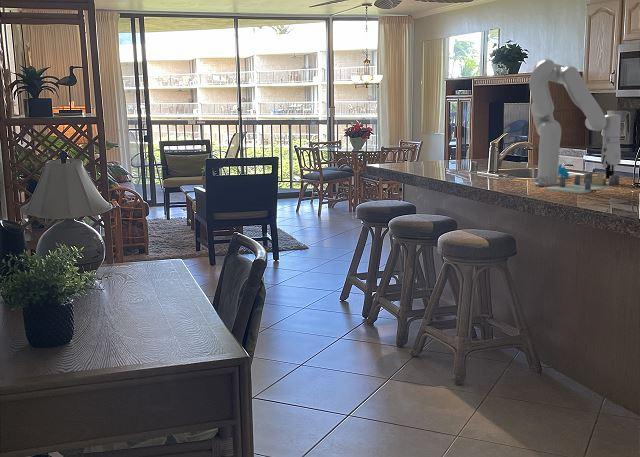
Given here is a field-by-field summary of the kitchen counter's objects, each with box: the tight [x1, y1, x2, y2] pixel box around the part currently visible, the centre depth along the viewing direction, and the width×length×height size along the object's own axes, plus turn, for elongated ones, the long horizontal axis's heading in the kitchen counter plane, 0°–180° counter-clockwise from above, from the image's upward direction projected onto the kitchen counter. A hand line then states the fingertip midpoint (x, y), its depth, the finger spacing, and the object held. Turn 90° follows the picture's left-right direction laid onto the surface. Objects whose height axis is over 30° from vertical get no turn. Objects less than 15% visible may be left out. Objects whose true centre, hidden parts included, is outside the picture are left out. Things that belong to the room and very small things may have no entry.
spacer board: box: [545, 172, 621, 194], centre depth 319 cm, size 34×18×6 cm, turn 127°
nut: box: [592, 176, 607, 185], centre depth 325 cm, size 6×7×3 cm
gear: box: [558, 163, 570, 179], centre depth 362 cm, size 11×6×10 cm
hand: (609, 178), depth 330 cm, fingers closed
